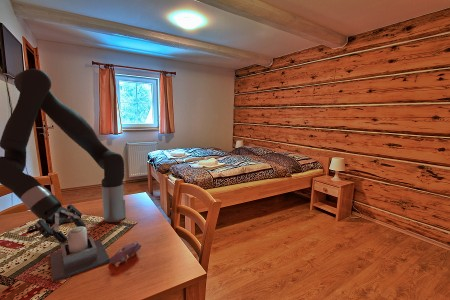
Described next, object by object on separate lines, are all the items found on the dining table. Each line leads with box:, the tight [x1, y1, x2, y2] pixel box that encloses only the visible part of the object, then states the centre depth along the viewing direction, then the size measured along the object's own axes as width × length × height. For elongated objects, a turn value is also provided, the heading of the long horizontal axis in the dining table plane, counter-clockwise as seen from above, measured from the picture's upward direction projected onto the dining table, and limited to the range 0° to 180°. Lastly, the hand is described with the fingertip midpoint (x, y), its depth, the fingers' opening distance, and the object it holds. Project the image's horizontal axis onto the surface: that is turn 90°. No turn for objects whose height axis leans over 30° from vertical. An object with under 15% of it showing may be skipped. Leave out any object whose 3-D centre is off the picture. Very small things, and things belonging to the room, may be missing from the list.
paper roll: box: [67, 226, 88, 255], centre depth 79 cm, size 6×6×10 cm
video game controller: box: [109, 241, 142, 265], centre depth 80 cm, size 10×5×7 cm, turn 149°
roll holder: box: [49, 236, 111, 283], centre depth 79 cm, size 16×16×5 cm
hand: (75, 234), depth 78 cm, fingers open, 8 cm apart
